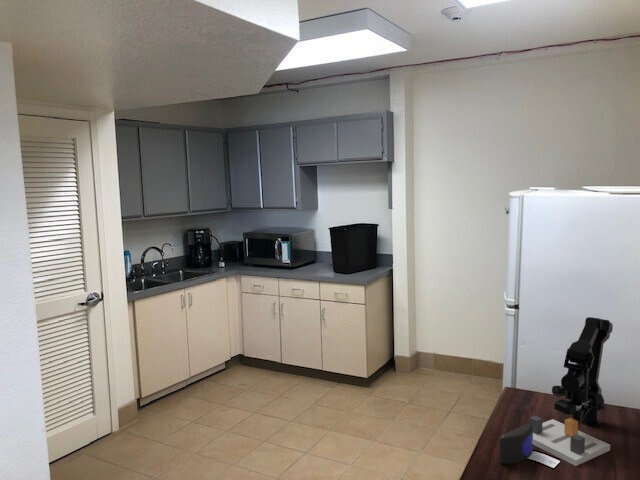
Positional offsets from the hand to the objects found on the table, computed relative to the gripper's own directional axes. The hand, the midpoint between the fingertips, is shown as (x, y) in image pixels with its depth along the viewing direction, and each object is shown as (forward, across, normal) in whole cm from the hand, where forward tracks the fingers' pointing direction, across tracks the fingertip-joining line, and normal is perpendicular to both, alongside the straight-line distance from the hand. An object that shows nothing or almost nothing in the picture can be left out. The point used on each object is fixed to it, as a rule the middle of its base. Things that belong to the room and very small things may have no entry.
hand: (577, 425), depth 183 cm
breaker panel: (+5, +7, 0) cm, 9 cm away
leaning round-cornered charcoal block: (+5, +27, -3) cm, 28 cm away
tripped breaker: (+2, +3, 0) cm, 4 cm away
